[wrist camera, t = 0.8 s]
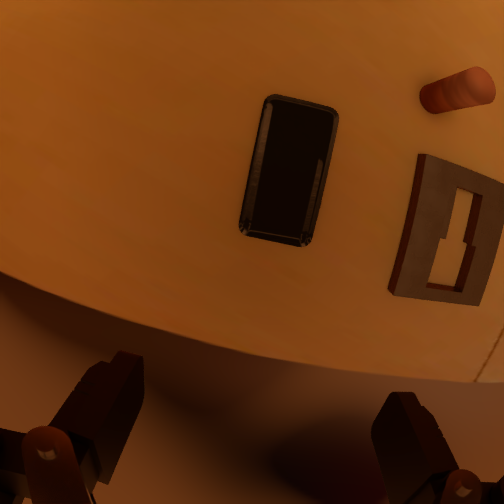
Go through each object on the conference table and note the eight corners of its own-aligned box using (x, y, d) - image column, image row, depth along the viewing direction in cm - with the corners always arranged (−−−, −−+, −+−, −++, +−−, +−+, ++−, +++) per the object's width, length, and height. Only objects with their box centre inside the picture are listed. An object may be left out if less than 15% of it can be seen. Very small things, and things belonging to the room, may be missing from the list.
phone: (236, 233, 33) (266, 92, 29) (237, 231, 34) (266, 94, 30) (310, 249, 33) (342, 110, 29) (308, 246, 34) (339, 111, 30)
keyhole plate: (418, 154, 30) (426, 154, 28) (501, 185, 30) (510, 187, 28) (387, 288, 35) (393, 295, 33) (471, 300, 35) (478, 306, 33)
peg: (420, 81, 28) (467, 60, 18) (445, 90, 28) (495, 76, 18) (418, 108, 29) (467, 95, 19) (443, 117, 29) (495, 109, 19)
